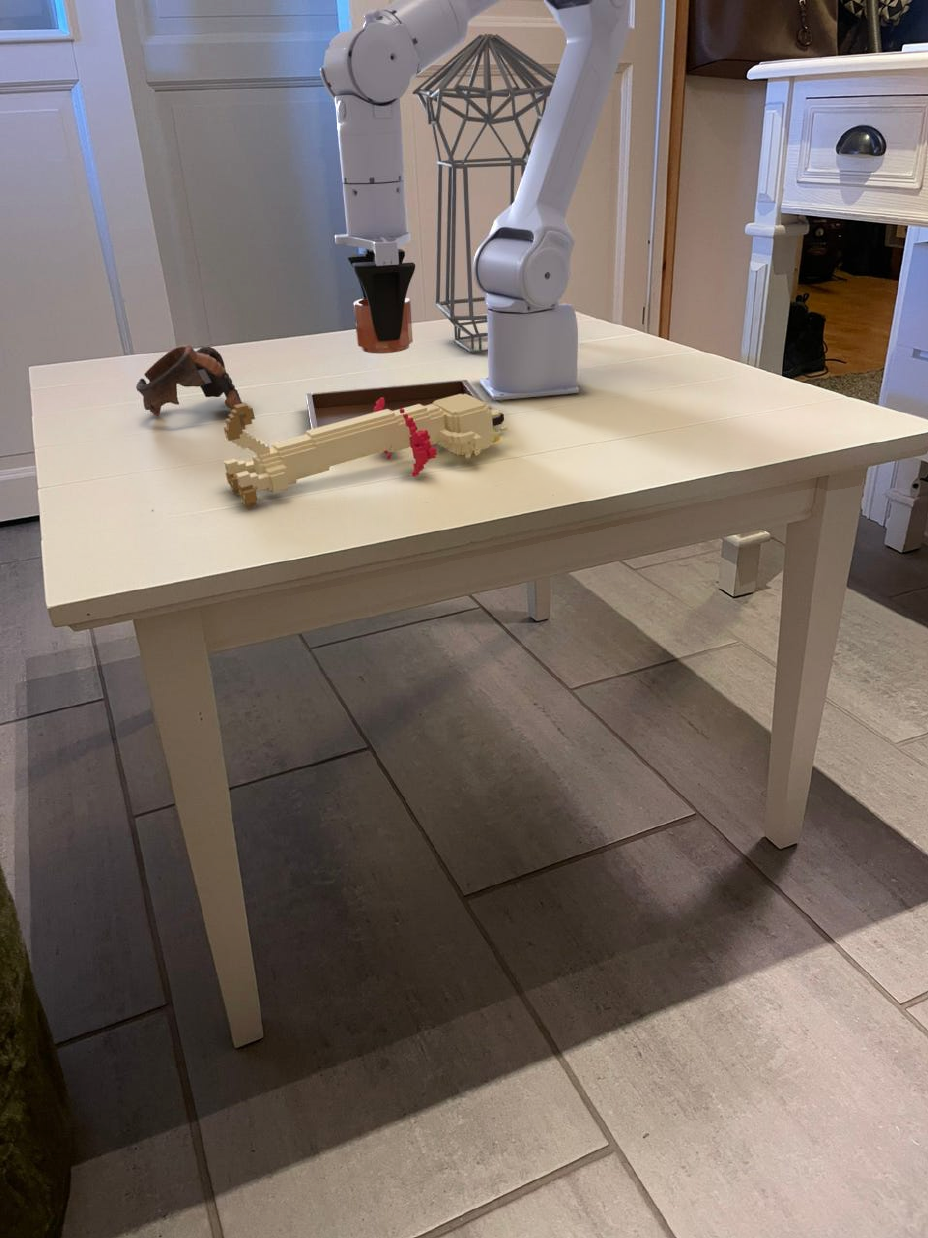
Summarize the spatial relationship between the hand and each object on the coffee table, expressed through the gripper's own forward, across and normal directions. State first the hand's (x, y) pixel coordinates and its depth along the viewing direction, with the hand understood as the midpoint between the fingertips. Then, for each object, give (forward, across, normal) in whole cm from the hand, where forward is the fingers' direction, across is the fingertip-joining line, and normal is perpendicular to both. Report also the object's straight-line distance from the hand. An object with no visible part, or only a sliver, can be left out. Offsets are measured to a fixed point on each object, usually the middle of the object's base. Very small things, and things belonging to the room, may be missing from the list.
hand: (385, 333), depth 92 cm
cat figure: (+9, +16, -3) cm, 19 cm away
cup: (+1, 0, 0) cm, 1 cm away
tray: (+8, +2, 0) cm, 9 cm away
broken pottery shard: (+9, -8, -20) cm, 23 cm away
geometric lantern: (+9, -29, +17) cm, 35 cm away
